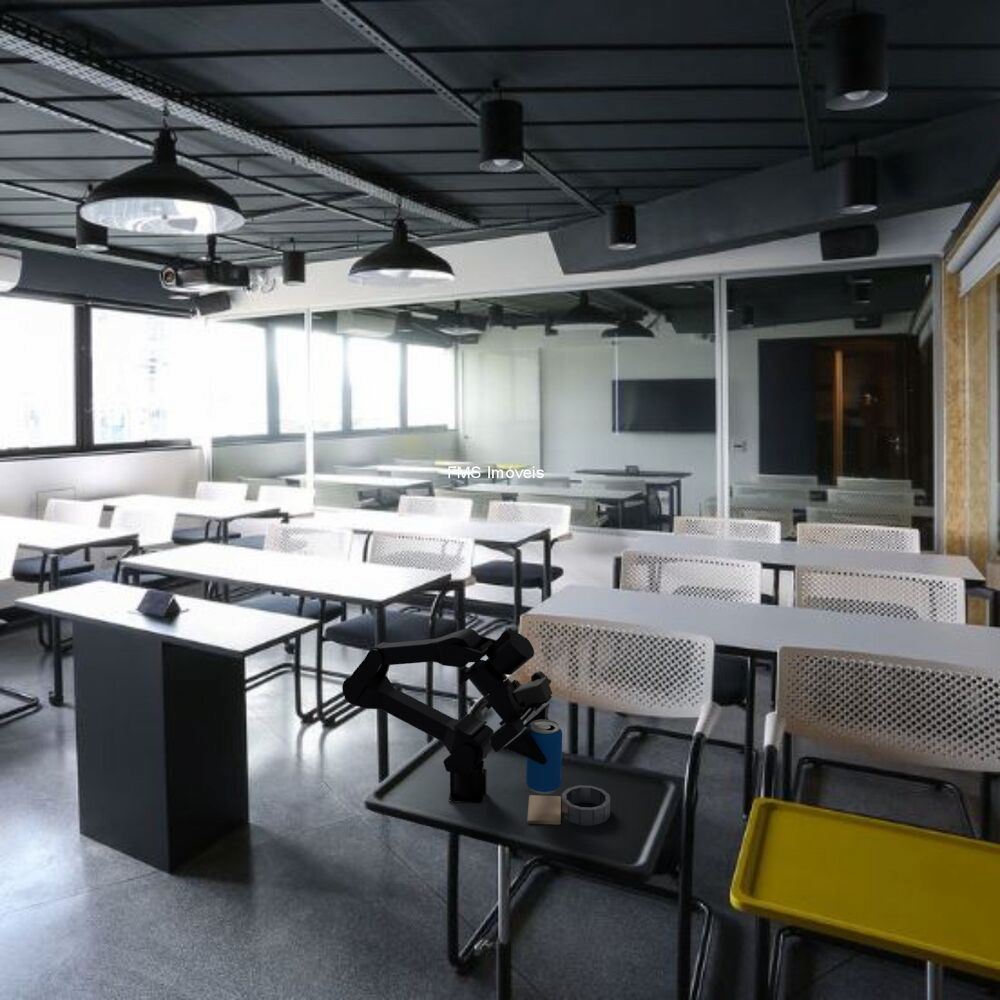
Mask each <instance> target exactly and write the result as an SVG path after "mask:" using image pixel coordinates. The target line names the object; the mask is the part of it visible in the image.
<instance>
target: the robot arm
mask: <svg viewBox="0 0 1000 1000" xmlns="http://www.w3.org/2000/svg"><path fill="white" fill-rule="evenodd" d="M485 656H486V657H487V659H486V660H484V659H483V658H484V657H485ZM534 656H535V649H534V646H533V645H532V643H531V641H530V640H529V639H528V638H527V637H525V636H524V635H522V634H521V633H519V632H515V631H514V630H513V628H511V627H508V628H507V629H505V630H504V631H503V632H502V633H501V634H500V636H499V637H498V638H497V639H494V638H491V637H487V636H483V635H481V634H479V633H478V632H477V631H476V630H475V629H472V628H464V629H459V630H458V631H457V630H456V631H453V632H451V633H448V634H446V635H443V636H440V637H437V638H430V639H427V638H426V639H417V640H409V641H408V640H407V641H398V642H397V641H396V642H387V641H383V642H381V643H379V644H377V645H375V646H373V647H371V648H370V649H369V650H368V653H367V654H366V656H365V657H364V659H363V660H362V661H361V663H359V665H358V666H357V667H356V669H355V670H353V672H352V674H351V675H350V676H348V677H347V678H346V679H345V680H344V681H343V683H342V685H341V686H342V688H341V689H342V690H341V691H342V693H343V696H344V699H345V702H347V703H349V704H350V705H353V706H356V707H358V708H362V709H366V710H381V711H383V712H385V713H387V714H389V715H390V716H393V717H395V718H397V719H398V720H400V721H402V722H404V723H406V724H408V725H409V726H411V727H414V728H415V729H417V730H419V731H420V732H422V733H425V734H426V735H429V736H430V737H433V738H434V739H436V740H438V741H440V742H442V743H443V745H444V746H445V748H446V751H448V753H449V755H448V756H447V757H446V758H445V759H444V760H443V766H444V768H445V771H446V772H449V791H450V792H449V795H448V801H449V800H451V801H460V802H459V803H472V804H473V803H475V804H480V803H483V802H484V801H483V800H484V796H486V794H487V791H488V770H487V768H485V760H484V759H486V758H487V757H488V755H489V754H490V753H491V752H492V751H494V752H495V753H497V752H498V751H500V750H501V749H503V750H504V751H506V750H509V751H511V752H513V753H517V754H519V755H521V756H523V757H526V759H527V758H530V759H532V760H534V761H536V762H538V763H540V764H542V765H544V764H545V763H546V762H547V759H546V758H545V756H544V754H543V753H542V751H541V750H540V748H539V747H538V745H537V744H536V743H535V741H534V740H533V738H532V737H531V725H530V723H531V722H533V721H536V720H543V719H545V720H550V718H549V709H550V706H551V705H550V703H548V702H549V701H550V700H551V699H552V698H553V696H552V695H553V690H552V689H551V686H550V685H551V684H552V679H550V678H549V677H548V675H546V674H545V673H544V672H543V671H542V670H539V671H537V672H534V673H533V674H532V675H531V676H530V680H529V681H528V680H527V682H526V683H524V684H523V683H522V684H521V683H520V682H519V681H518V680H516V679H513V680H511V679H510V678H509V677H508V676H512V675H513V674H514V673H515V672H517V671H518V670H519V669H521V668H522V667H523V666H524V665H525V664H526V663H528V662H529V661H530V660H531V659H532V658H533V657H534ZM421 663H437V664H439V665H441V666H445V667H451V668H453V667H454V668H461V669H459V677H458V678H459V679H458V684H459V685H460V686H462V685H464V684H465V683H467V681H469V682H471V684H472V685H473V686H474V687H475V688H476V690H477V691H478V692H479V693H480V695H481V696H482V698H484V699H485V701H486V702H487V703H485V705H484V707H485V708H486V710H488V711H489V710H490V709H491V708H492V709H493V711H494V712H495V714H497V715H498V717H499V718H500V719H501V721H500V722H499V723H498V724H499V725H500V726H499V727H498V728H497V729H495V731H494V729H493V728H492V727H491V726H489V725H487V723H488V721H486V720H481V719H479V718H477V717H476V716H474V715H473V714H471V713H467V714H466V715H464V717H462V718H461V719H459V718H458V719H457V718H453V717H451V716H449V715H448V714H446V713H444V712H442V711H440V710H438V709H436V708H434V707H432V706H431V705H428V704H427V703H425V702H423V701H421V700H419V699H417V698H415V697H412V696H410V694H407V693H405V692H403V691H401V690H400V689H397V688H396V687H394V685H393V684H392V682H391V681H390V679H389V678H388V676H387V673H388V672H389V670H390V666H394V665H395V666H396V665H407V664H408V665H409V664H421ZM469 663H472V664H471V665H470V666H466V665H468V664H469ZM507 675H508V676H507ZM544 704H546V705H545V706H544ZM525 721H526V722H525ZM524 722H525V723H524Z"/></svg>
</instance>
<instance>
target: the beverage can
mask: <svg viewBox="0 0 1000 1000" xmlns="http://www.w3.org/2000/svg"><path fill="white" fill-rule="evenodd" d="M530 725H531V737H532V738H533V740H534V741H535V743H536V744H537V745H538V747H539V748H540V750H541V751H542V753H543V754H544V756H545V758H546V759H547V762H546V763H545V764H544V765H542V764H540V763H538V762H536V761H534V760H532V759H530V758H527V757H526V759H525V760H526V767H525V768H526V770H525V772H526V773H525V775H526V777H525V779H526V780H525V783H526V786H527V787H528V789H530V790H531V791H532V792H533V793H535V794H536V793H537V794H541V795H550V794H552V793H555V792H556V791H557V790H559V789H560V788H561V786H562V767H563V763H562V762H563V761H562V759H563V730H562V729H561V725H560V723H558V722H557V721H555V720H552V719H549V720H545V719H543V720H536V721H533V722H531V723H530Z"/></svg>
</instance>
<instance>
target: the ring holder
mask: <svg viewBox="0 0 1000 1000" xmlns="http://www.w3.org/2000/svg"><path fill="white" fill-rule="evenodd" d="M579 803H586V804H587V803H590V804H593V805H596V806H593V807H587V806H586V807H585V806H584V807H583V806H578V805H575V804H579ZM561 817H563V818H565V820H566V821H568V822H570V823H573V824H576V825H578V826H590V827H591V826H597V825H601V824H604V823H605V822H606V821H607V820H608V819H610V817H611V796H610V794H609V793H608V792H607V791H606V790H604V789H603V788H600V787H597V786H595V785H594V786H593V785H582V784H581V785H575V786H570V787H568V788H567V789H565V790H564V791H563V792H561Z"/></svg>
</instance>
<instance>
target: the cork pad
mask: <svg viewBox="0 0 1000 1000" xmlns="http://www.w3.org/2000/svg"><path fill="white" fill-rule="evenodd" d="M527 808H528V809H527V819H526V822H527V823H526V824H530V825H531V824H535V825H559V826H560V825H562V823H561V821H562V795H561V796H560V795H535V794H534V795H531V794H530V795H529V796H528V807H527Z"/></svg>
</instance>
